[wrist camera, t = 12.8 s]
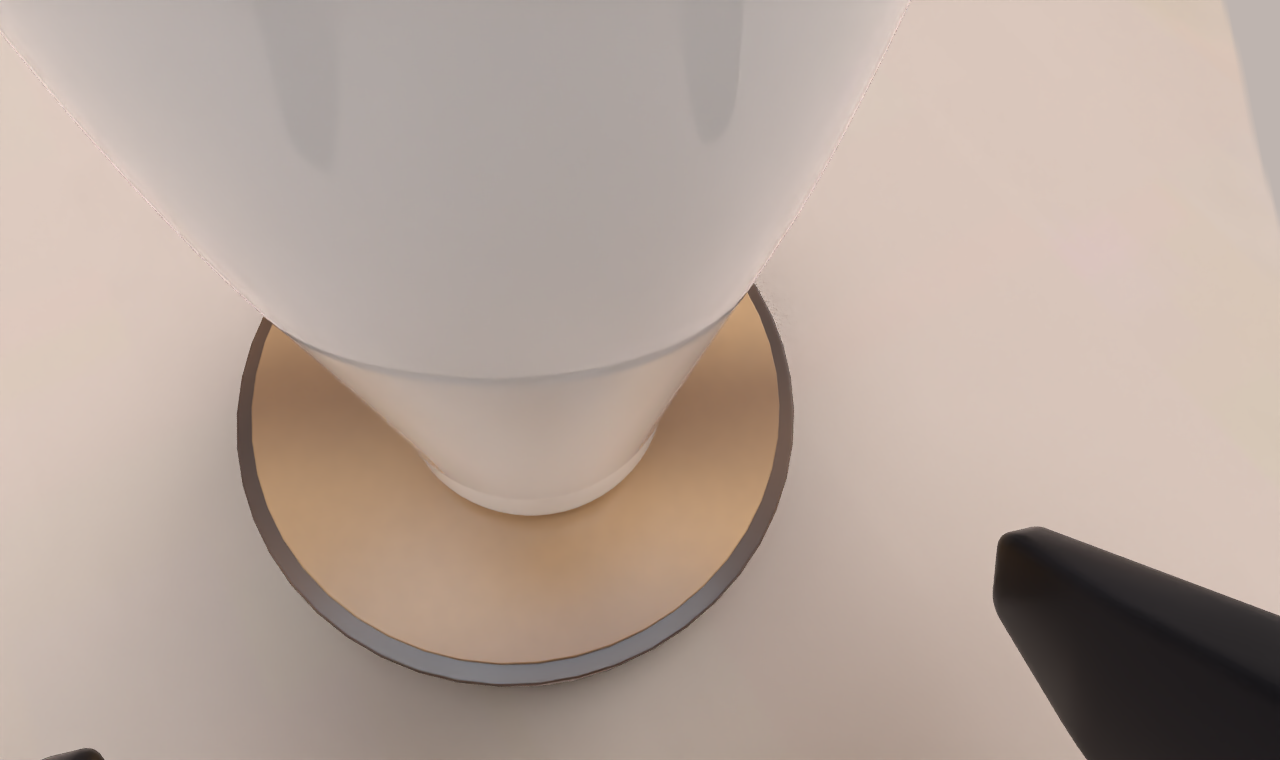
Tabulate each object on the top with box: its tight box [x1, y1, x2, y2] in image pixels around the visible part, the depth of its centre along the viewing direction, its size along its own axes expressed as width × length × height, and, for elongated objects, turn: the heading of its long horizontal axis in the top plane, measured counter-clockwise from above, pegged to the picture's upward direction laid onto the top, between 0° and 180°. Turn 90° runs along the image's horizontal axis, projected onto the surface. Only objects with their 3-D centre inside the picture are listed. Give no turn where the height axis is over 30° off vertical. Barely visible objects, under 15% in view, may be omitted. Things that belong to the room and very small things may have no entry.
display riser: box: [237, 283, 794, 687], centre depth 20 cm, size 12×12×4 cm
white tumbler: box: [0, 0, 911, 516], centre depth 11 cm, size 7×7×15 cm
